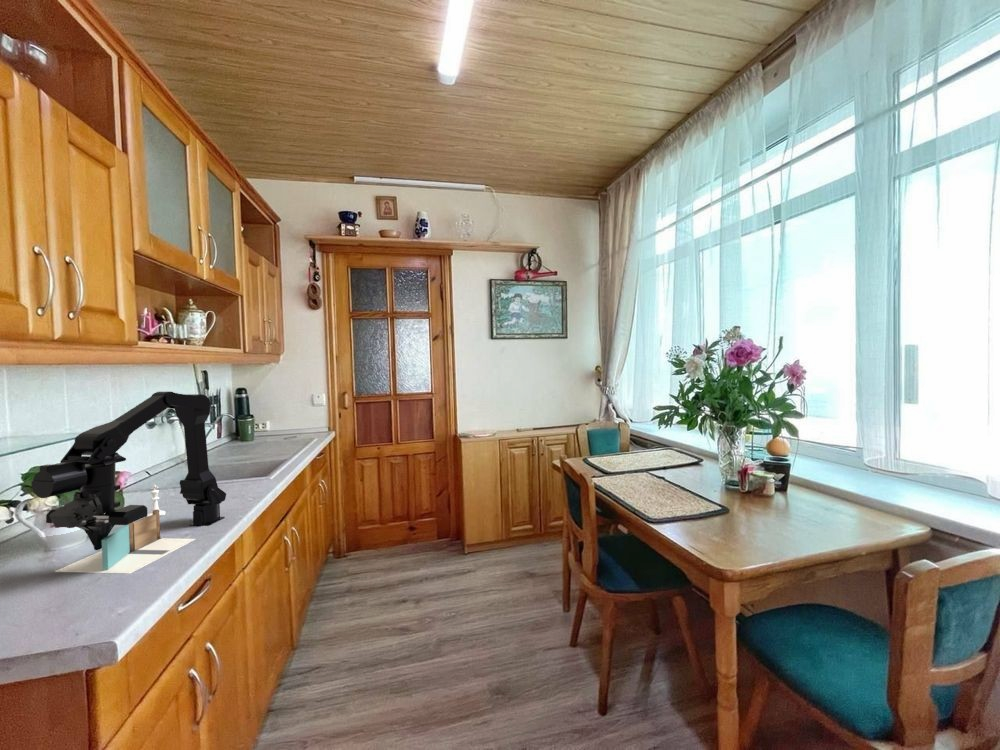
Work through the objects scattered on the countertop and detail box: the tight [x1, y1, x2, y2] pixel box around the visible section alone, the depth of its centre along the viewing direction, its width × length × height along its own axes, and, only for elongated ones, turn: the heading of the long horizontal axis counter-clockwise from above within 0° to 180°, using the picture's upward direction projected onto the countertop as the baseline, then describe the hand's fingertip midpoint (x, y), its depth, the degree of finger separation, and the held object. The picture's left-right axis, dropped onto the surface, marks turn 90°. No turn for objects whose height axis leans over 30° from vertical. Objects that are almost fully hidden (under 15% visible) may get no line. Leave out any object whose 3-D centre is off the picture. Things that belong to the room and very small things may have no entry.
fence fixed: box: [127, 508, 161, 553], centre depth 105 cm, size 9×2×8 cm, turn 176°
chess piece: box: [146, 484, 166, 517], centre depth 127 cm, size 5×5×10 cm
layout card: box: [54, 537, 196, 574], centre depth 100 cm, size 18×19×1 cm
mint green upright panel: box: [101, 525, 130, 570], centre depth 96 cm, size 9×1×7 cm, turn 19°
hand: (98, 549), depth 93 cm, fingers closed
